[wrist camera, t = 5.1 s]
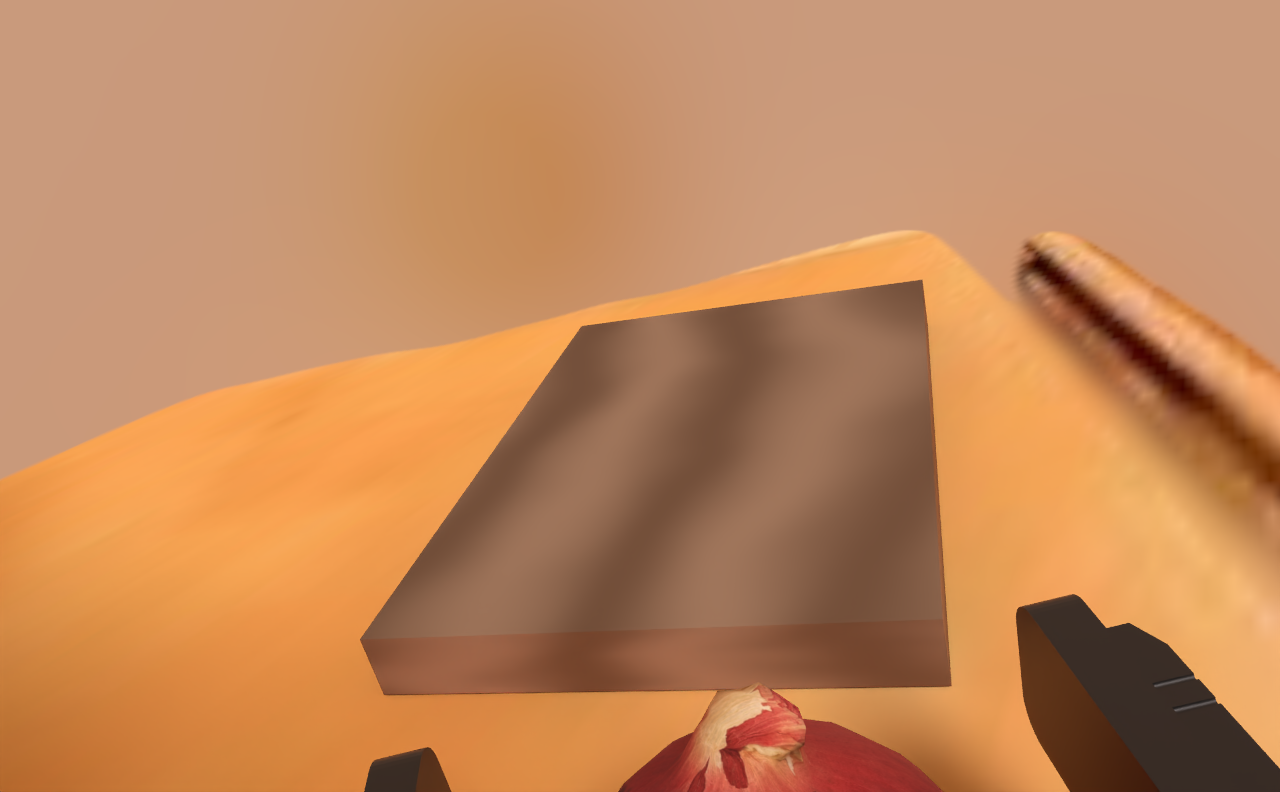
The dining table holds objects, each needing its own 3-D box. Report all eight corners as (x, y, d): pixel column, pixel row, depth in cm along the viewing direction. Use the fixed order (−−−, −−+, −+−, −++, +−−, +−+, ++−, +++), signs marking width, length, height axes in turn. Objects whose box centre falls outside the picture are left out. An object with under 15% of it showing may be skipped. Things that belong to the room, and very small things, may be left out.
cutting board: (383, 694, 25) (359, 639, 25) (592, 364, 43) (581, 326, 42) (951, 685, 21) (942, 618, 20) (927, 323, 38) (922, 280, 38)
